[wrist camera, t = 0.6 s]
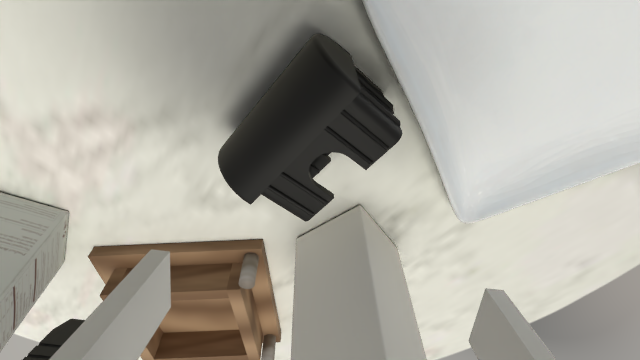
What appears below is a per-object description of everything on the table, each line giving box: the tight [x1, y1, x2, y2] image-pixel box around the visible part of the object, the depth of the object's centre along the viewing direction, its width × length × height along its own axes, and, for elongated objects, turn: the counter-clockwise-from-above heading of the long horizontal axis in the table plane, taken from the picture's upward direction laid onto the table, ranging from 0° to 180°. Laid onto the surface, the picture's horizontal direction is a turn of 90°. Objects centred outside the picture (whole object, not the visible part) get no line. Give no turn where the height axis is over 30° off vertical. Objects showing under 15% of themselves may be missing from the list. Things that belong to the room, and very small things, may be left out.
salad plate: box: [362, 0, 640, 223], centre depth 22 cm, size 21×21×3 cm
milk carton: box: [291, 205, 427, 360], centre depth 26 cm, size 7×7×19 cm
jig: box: [88, 239, 281, 360], centre depth 37 cm, size 16×16×4 cm
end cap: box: [218, 34, 402, 221], centre depth 23 cm, size 10×7×7 cm
